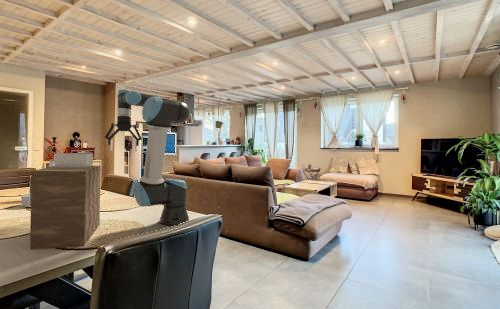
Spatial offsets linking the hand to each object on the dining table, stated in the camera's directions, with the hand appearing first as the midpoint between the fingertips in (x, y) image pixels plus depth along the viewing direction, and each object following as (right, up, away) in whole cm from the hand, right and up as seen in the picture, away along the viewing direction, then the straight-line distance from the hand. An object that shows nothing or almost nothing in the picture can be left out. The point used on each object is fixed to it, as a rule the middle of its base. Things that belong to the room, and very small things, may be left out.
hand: (123, 151), depth 164 cm
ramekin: (-59, -35, +5) cm, 68 cm away
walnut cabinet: (-2, -38, -45) cm, 59 cm away
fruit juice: (-62, -34, +26) cm, 76 cm away
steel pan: (-6, -7, -31) cm, 33 cm away
